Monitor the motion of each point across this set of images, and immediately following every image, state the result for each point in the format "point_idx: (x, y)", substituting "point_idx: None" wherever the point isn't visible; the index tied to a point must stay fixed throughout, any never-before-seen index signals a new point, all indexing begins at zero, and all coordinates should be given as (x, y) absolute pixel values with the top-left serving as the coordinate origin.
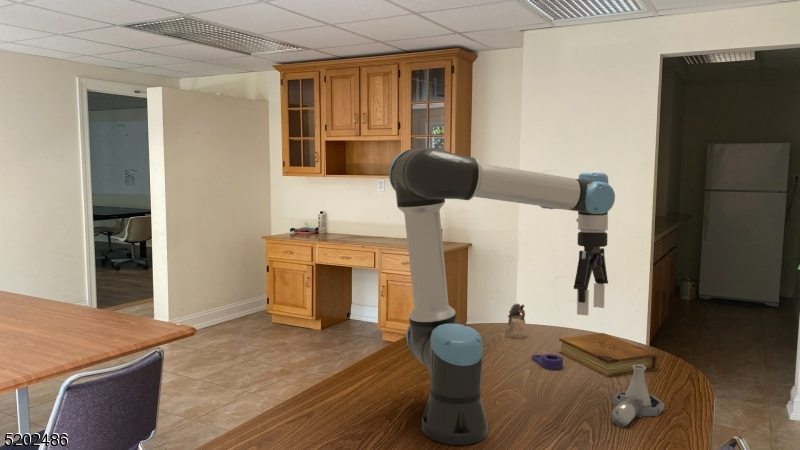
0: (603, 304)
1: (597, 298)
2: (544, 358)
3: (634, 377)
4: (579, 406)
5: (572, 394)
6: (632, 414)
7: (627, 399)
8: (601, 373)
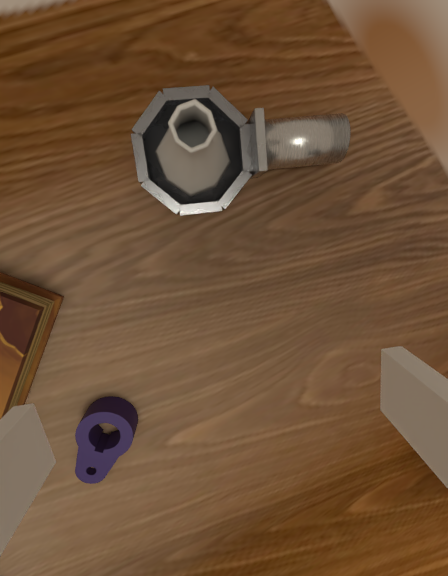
0: (16, 422)
1: (3, 504)
2: (127, 443)
3: (209, 145)
4: (287, 257)
5: (236, 300)
6: (317, 115)
7: (282, 142)
8: (55, 317)
